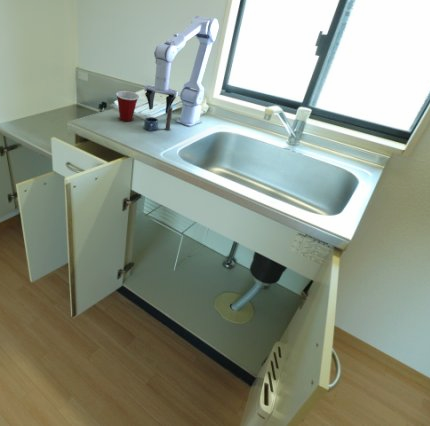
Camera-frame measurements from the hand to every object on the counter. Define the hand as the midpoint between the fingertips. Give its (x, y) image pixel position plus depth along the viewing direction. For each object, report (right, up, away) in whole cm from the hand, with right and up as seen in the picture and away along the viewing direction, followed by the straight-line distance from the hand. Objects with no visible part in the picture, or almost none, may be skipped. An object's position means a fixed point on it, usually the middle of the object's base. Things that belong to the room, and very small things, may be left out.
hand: (158, 110), depth 140 cm
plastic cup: (-14, +1, +18) cm, 23 cm away
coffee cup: (-3, -5, +10) cm, 12 cm away
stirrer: (+5, -5, +10) cm, 13 cm away
